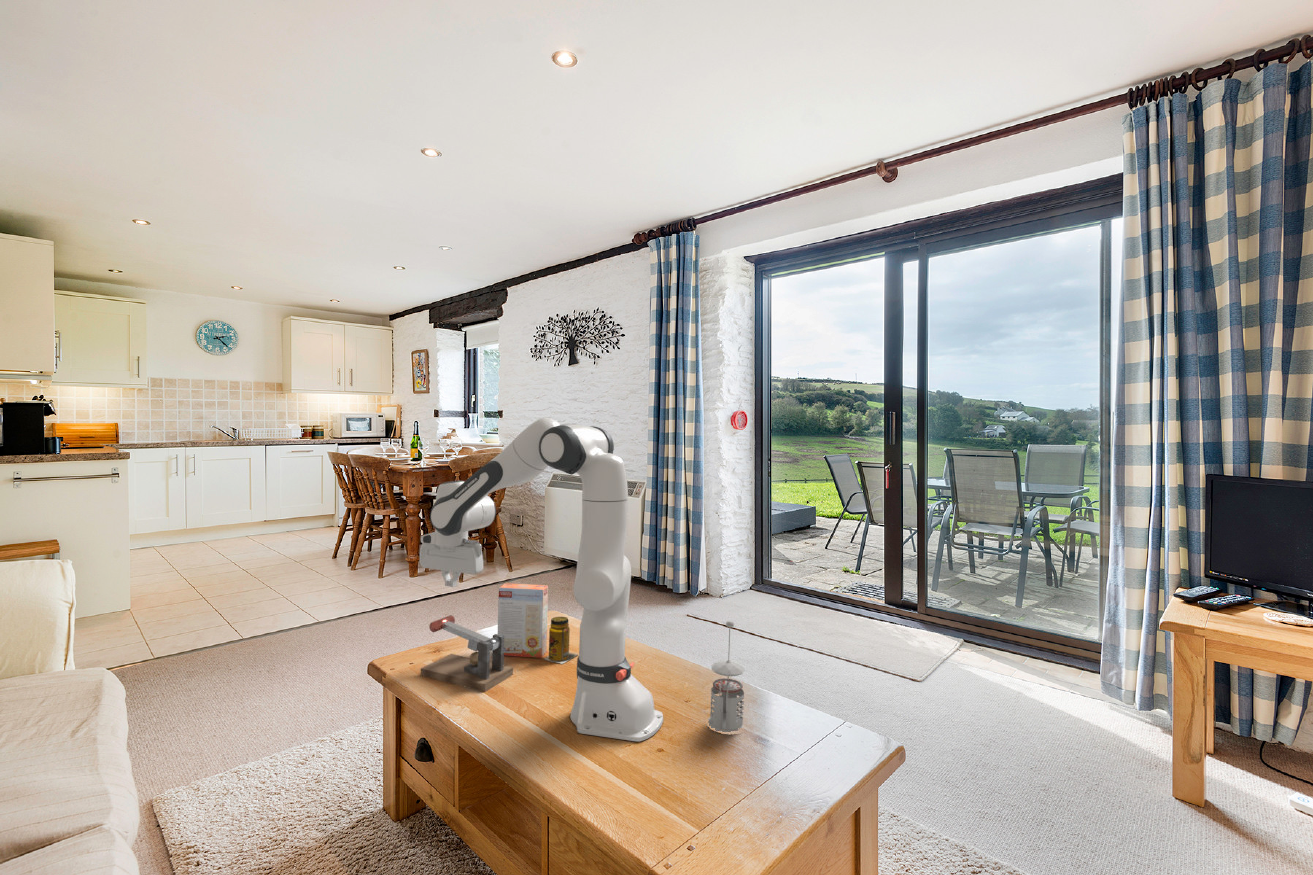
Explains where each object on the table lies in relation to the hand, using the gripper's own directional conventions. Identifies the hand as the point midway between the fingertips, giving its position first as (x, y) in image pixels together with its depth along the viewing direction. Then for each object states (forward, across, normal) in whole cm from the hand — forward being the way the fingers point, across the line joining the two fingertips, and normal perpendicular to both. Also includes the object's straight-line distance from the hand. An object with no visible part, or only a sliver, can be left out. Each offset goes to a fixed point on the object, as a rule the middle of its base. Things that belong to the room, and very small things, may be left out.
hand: (450, 586), depth 169 cm
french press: (+25, -80, -4) cm, 84 cm away
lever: (+15, -6, +1) cm, 16 cm away
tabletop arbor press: (+24, -7, +1) cm, 25 cm away
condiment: (+24, -23, -22) cm, 40 cm away
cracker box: (+24, -11, -19) cm, 33 cm away
